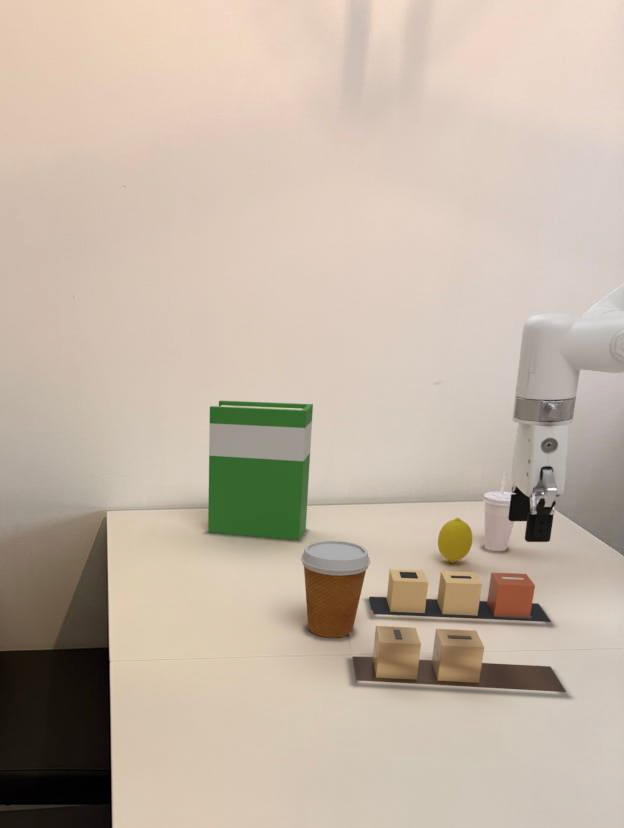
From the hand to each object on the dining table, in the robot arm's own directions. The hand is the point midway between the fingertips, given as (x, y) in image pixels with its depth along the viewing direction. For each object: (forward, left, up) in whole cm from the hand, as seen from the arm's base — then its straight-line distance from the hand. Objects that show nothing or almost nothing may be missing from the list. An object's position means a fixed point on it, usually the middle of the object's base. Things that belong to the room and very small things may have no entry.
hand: (528, 530), depth 124 cm
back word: (+8, 0, -13) cm, 15 cm away
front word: (+12, +22, -13) cm, 28 cm away
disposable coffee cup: (+27, +9, -13) cm, 32 cm away
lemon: (+5, -22, -13) cm, 26 cm away
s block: (+1, 0, -12) cm, 12 cm away
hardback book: (+39, -37, -13) cm, 56 cm away
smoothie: (-4, -31, -13) cm, 34 cm away
